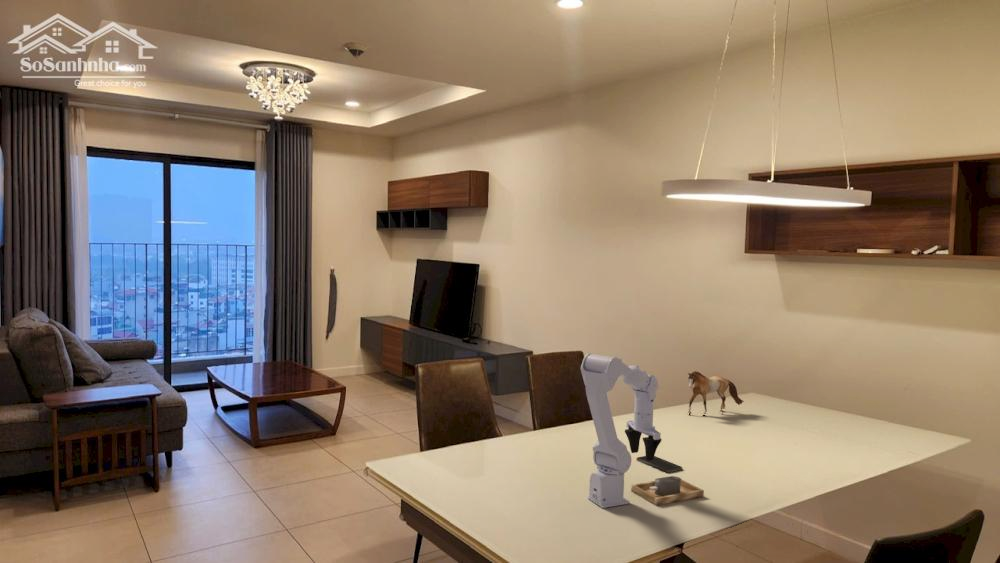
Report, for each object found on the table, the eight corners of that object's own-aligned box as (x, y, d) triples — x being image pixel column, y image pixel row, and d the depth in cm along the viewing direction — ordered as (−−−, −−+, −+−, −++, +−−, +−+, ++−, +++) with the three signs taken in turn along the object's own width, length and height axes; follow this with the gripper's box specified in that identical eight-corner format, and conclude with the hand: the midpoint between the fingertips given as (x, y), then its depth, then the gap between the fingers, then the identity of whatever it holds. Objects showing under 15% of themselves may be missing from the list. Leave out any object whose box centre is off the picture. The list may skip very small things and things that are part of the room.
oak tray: (656, 505, 178) (656, 498, 178) (631, 491, 188) (631, 484, 188) (703, 497, 185) (703, 490, 185) (677, 483, 196) (677, 477, 196)
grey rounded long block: (654, 497, 183) (654, 484, 182) (646, 493, 186) (647, 480, 186) (682, 492, 187) (683, 479, 187) (674, 488, 190) (675, 475, 190)
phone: (667, 471, 205) (635, 457, 218) (667, 474, 205) (635, 461, 218) (684, 467, 209) (651, 454, 222) (683, 470, 209) (651, 457, 222)
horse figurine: (688, 419, 275) (690, 372, 274) (677, 414, 282) (679, 369, 281) (744, 414, 286) (746, 369, 285) (732, 409, 294) (733, 366, 293)
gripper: (669, 417, 187) (667, 462, 187) (640, 406, 200) (638, 447, 201) (650, 419, 184) (648, 464, 185) (621, 407, 197) (620, 450, 198)
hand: (641, 456), depth 192 cm, fingers open, 7 cm apart
